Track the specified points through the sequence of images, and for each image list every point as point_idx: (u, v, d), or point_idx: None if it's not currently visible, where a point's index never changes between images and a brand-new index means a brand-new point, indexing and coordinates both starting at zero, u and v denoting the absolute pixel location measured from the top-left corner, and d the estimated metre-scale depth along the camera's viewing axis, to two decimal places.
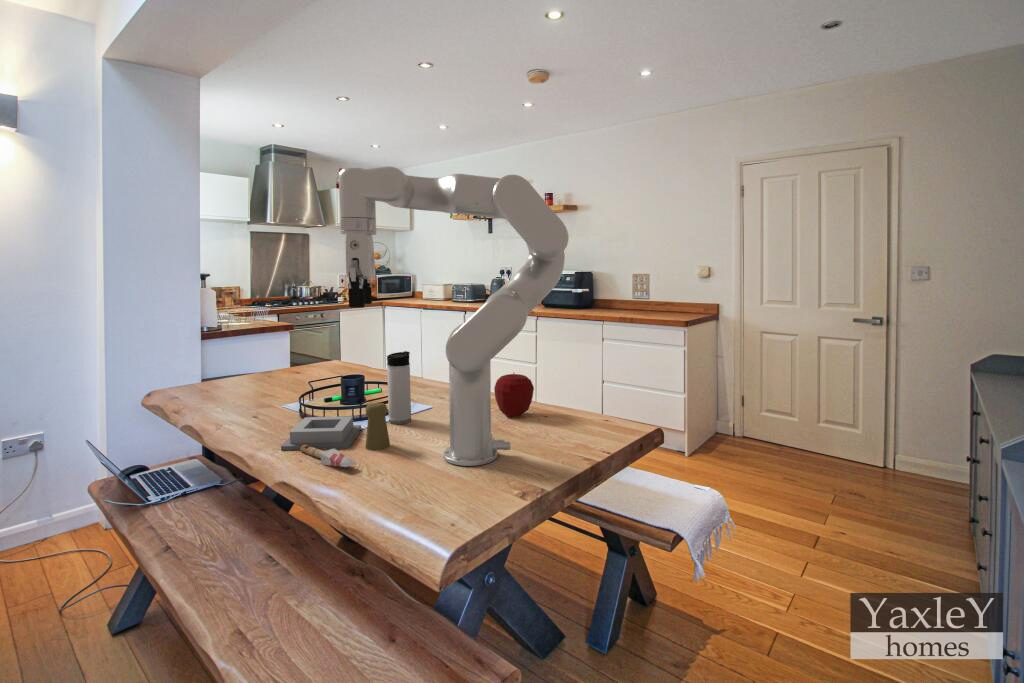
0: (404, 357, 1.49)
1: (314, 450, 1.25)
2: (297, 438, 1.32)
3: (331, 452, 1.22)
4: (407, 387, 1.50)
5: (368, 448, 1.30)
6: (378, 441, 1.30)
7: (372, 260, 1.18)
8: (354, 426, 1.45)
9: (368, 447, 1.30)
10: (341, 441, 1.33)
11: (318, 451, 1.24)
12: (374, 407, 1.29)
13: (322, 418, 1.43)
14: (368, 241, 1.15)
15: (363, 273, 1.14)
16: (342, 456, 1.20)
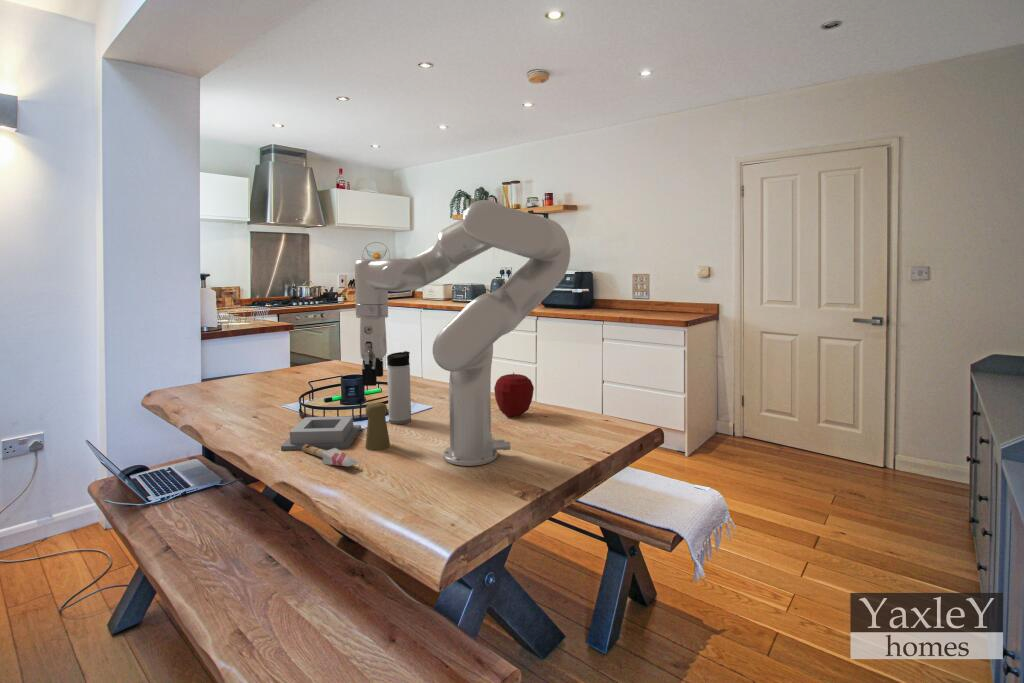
0: (404, 357, 1.49)
1: (316, 449, 1.26)
2: (297, 438, 1.32)
3: (333, 452, 1.22)
4: (407, 387, 1.50)
5: (368, 448, 1.30)
6: (378, 441, 1.30)
7: (384, 340, 1.29)
8: (354, 426, 1.45)
9: (368, 447, 1.30)
10: (341, 441, 1.33)
11: (320, 450, 1.25)
12: (374, 407, 1.29)
13: (322, 418, 1.43)
14: (380, 325, 1.25)
15: (375, 355, 1.25)
16: (344, 455, 1.21)
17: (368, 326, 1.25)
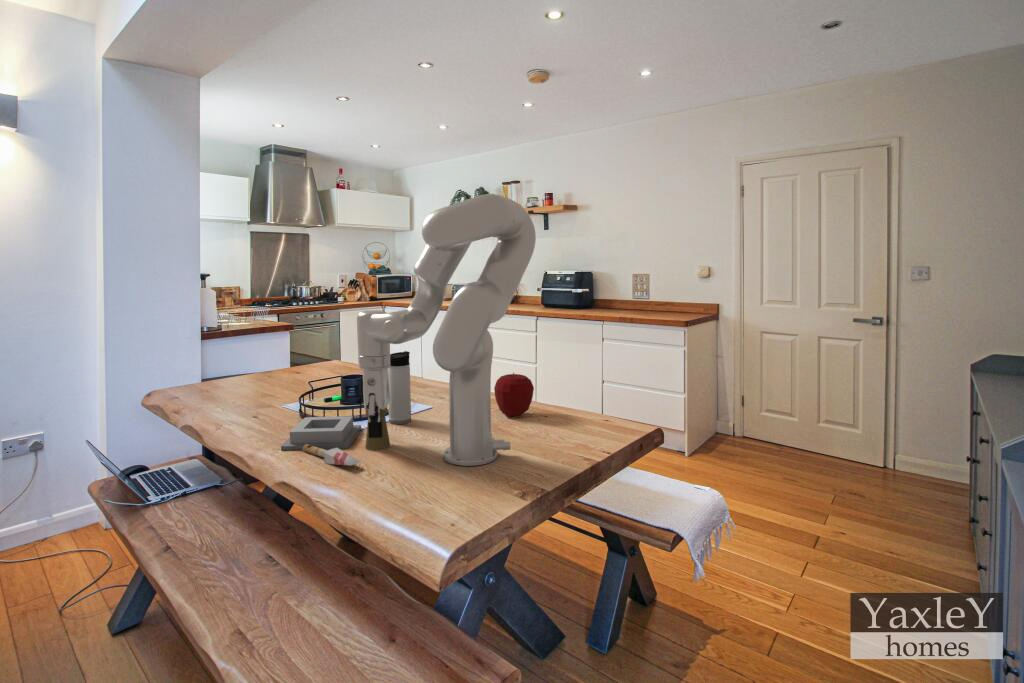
0: (404, 357, 1.49)
1: (317, 449, 1.26)
2: (297, 438, 1.32)
3: (334, 451, 1.22)
4: (407, 387, 1.50)
5: (368, 448, 1.30)
6: (378, 441, 1.30)
7: (387, 390, 1.31)
8: (354, 426, 1.45)
9: (368, 447, 1.30)
10: (341, 441, 1.33)
11: (321, 450, 1.25)
12: None
13: (322, 418, 1.43)
14: (383, 376, 1.27)
15: (379, 406, 1.26)
16: (346, 455, 1.21)
17: (371, 378, 1.26)
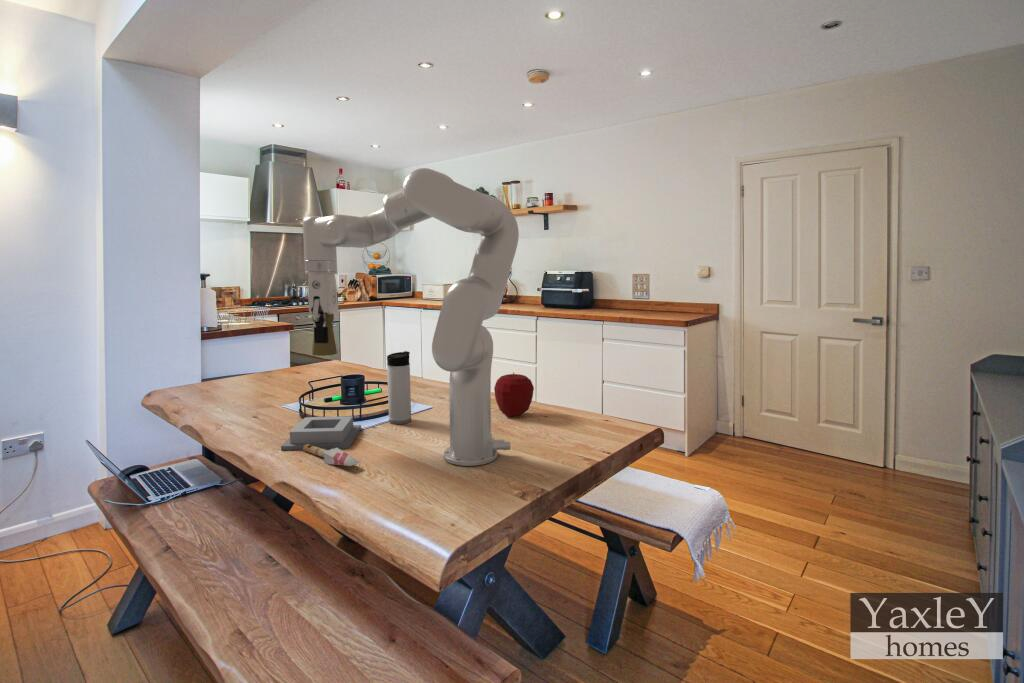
0: (404, 357, 1.49)
1: (317, 449, 1.26)
2: (297, 438, 1.32)
3: (334, 451, 1.22)
4: (407, 387, 1.50)
5: (314, 353, 1.32)
6: (323, 346, 1.32)
7: (333, 297, 1.32)
8: (354, 426, 1.45)
9: (314, 352, 1.32)
10: (341, 441, 1.33)
11: (321, 450, 1.25)
12: None
13: (322, 418, 1.43)
14: (328, 281, 1.29)
15: (324, 309, 1.28)
16: (345, 455, 1.21)
17: (316, 281, 1.28)
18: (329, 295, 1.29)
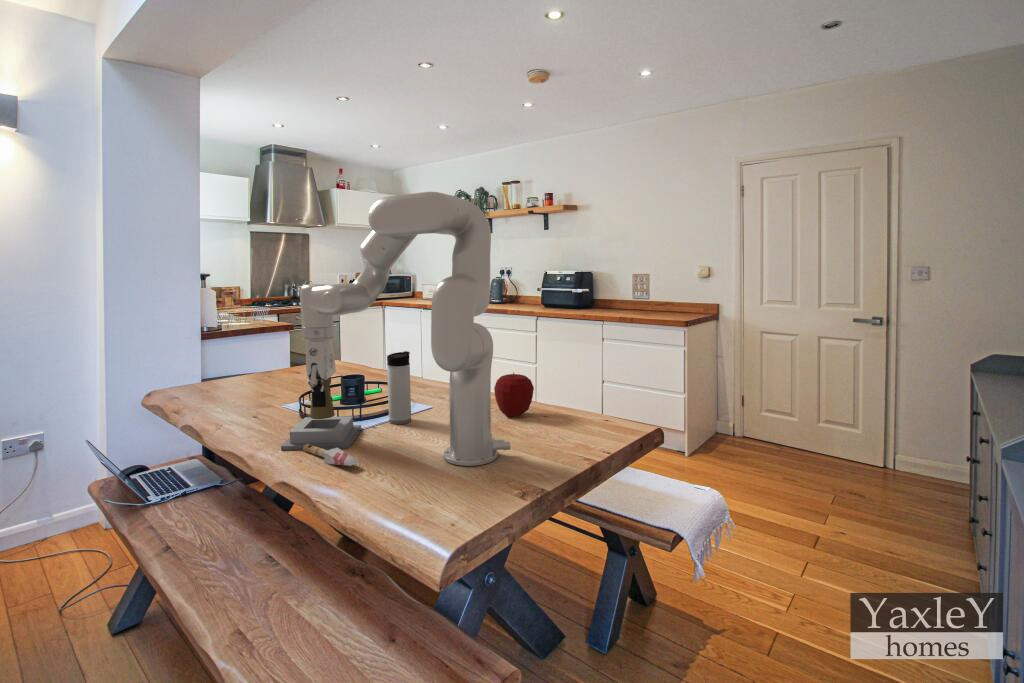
0: (404, 357, 1.49)
1: (317, 449, 1.26)
2: (297, 438, 1.32)
3: (334, 451, 1.22)
4: (407, 387, 1.50)
5: (312, 417, 1.35)
6: (321, 410, 1.35)
7: (330, 361, 1.35)
8: (354, 426, 1.45)
9: (312, 416, 1.35)
10: (341, 441, 1.33)
11: (321, 450, 1.25)
12: (317, 377, 1.34)
13: None
14: (325, 347, 1.32)
15: (321, 376, 1.31)
16: (346, 455, 1.21)
17: (313, 348, 1.31)
18: (326, 361, 1.32)
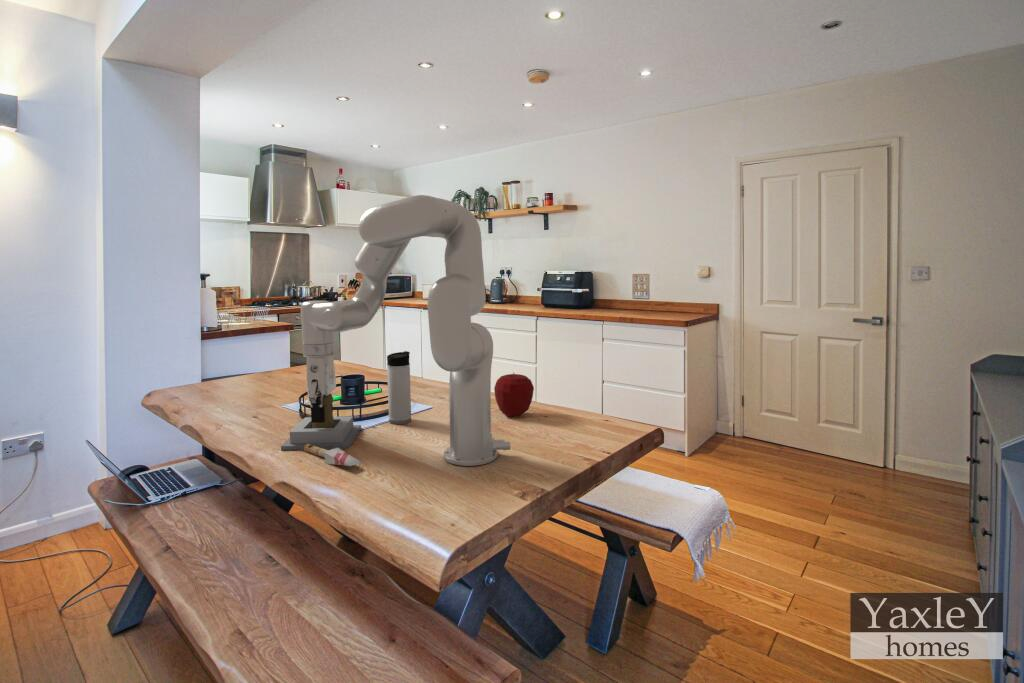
0: (404, 357, 1.49)
1: (318, 449, 1.26)
2: (297, 438, 1.32)
3: (335, 451, 1.22)
4: (407, 387, 1.50)
5: None
6: None
7: (331, 377, 1.36)
8: (354, 426, 1.45)
9: None
10: (341, 441, 1.33)
11: (322, 450, 1.25)
12: None
13: None
14: (326, 363, 1.33)
15: (322, 392, 1.32)
16: (346, 455, 1.21)
17: (314, 365, 1.32)
18: (327, 377, 1.33)
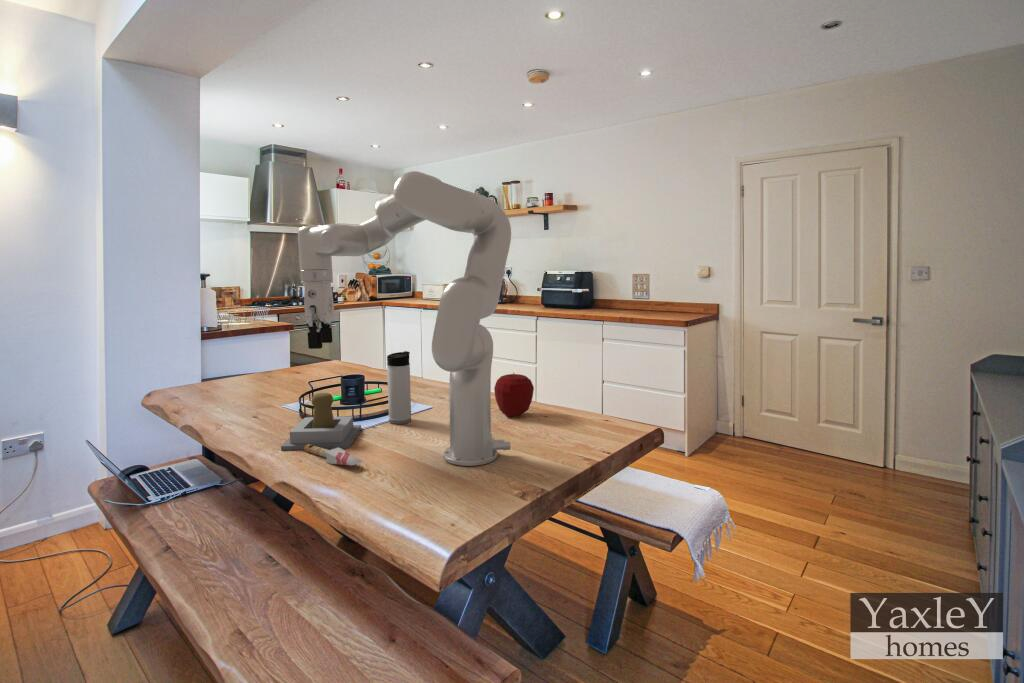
0: (404, 357, 1.49)
1: (319, 449, 1.26)
2: (297, 438, 1.32)
3: (336, 451, 1.23)
4: (407, 387, 1.50)
5: None
6: None
7: (329, 305, 1.33)
8: (354, 426, 1.45)
9: None
10: (341, 441, 1.33)
11: (323, 450, 1.25)
12: (319, 396, 1.35)
13: None
14: (324, 290, 1.30)
15: (320, 318, 1.29)
16: (348, 455, 1.21)
17: (312, 291, 1.29)
18: (325, 304, 1.30)
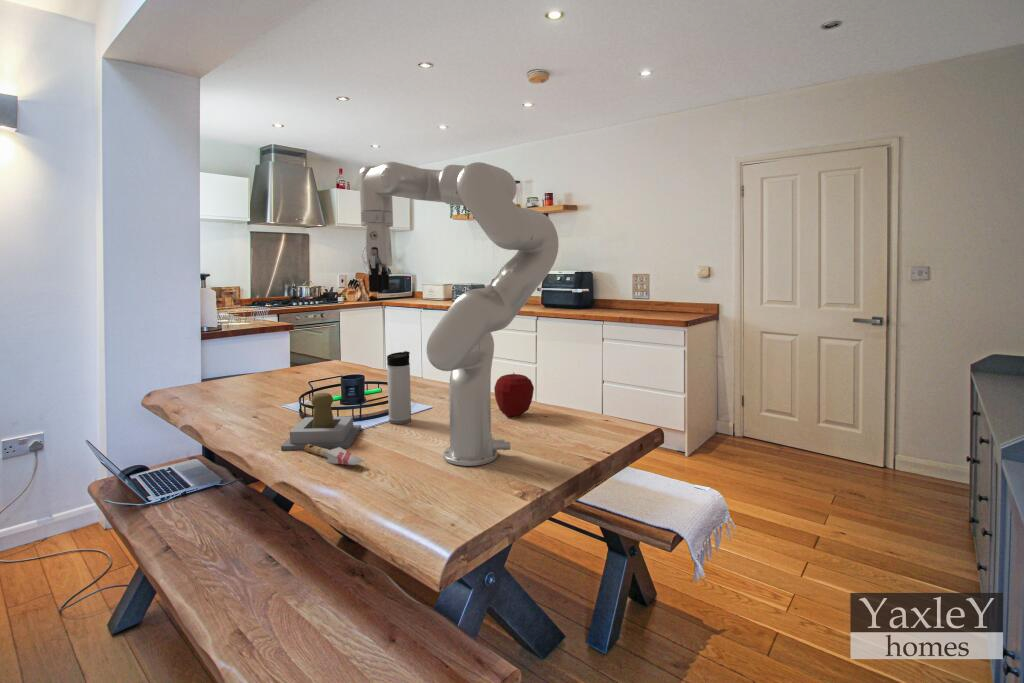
0: (404, 357, 1.49)
1: (319, 449, 1.26)
2: (297, 438, 1.32)
3: (337, 451, 1.23)
4: (407, 387, 1.50)
5: None
6: None
7: (389, 249, 1.31)
8: (354, 426, 1.45)
9: None
10: (341, 441, 1.33)
11: (323, 450, 1.25)
12: (319, 396, 1.35)
13: None
14: (386, 232, 1.27)
15: (382, 261, 1.26)
16: (349, 454, 1.21)
17: (374, 232, 1.26)
18: (386, 246, 1.27)
